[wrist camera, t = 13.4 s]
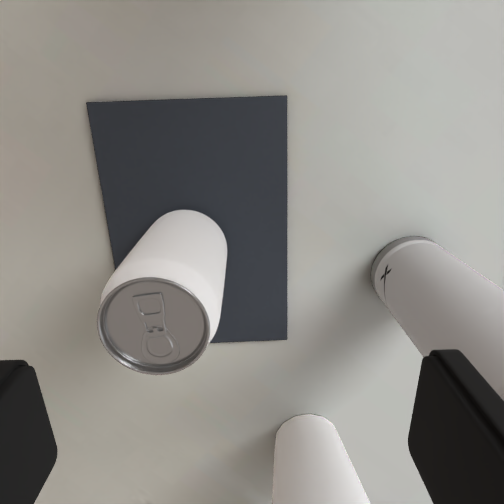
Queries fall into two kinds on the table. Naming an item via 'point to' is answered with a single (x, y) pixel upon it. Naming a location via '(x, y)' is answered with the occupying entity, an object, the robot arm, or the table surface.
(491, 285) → the travel mug
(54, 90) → the table surface
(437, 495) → the robot arm
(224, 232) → the mat
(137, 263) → the can
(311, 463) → the foam cup
